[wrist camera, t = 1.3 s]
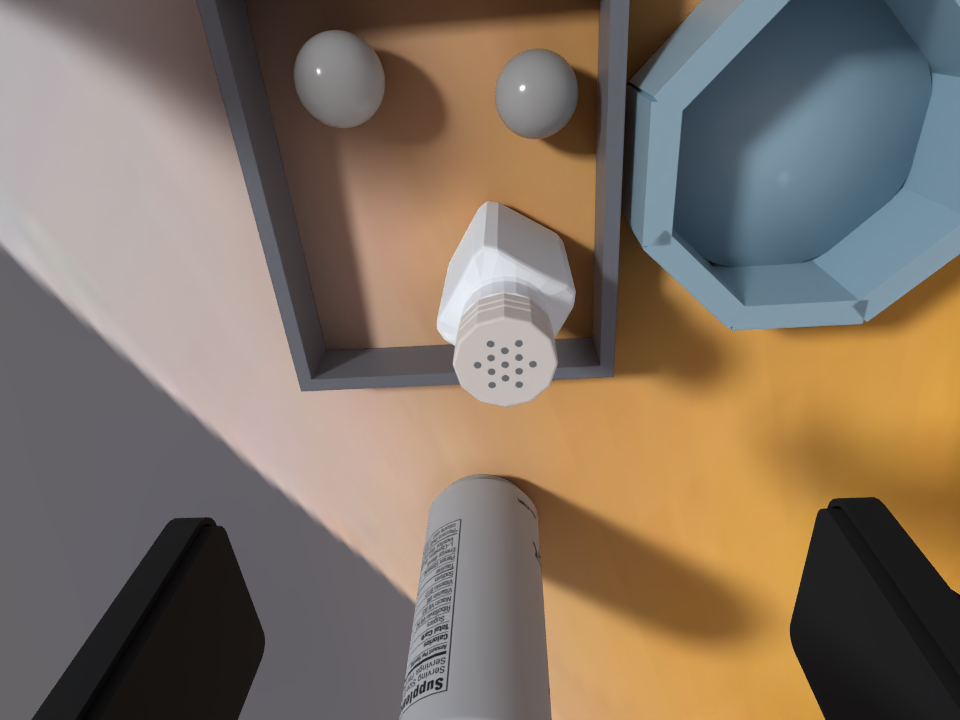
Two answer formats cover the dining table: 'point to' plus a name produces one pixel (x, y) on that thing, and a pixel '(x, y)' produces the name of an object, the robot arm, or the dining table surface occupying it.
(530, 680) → the energy drink can
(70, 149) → the dining table surface
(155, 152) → the dining table surface
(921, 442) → the dining table surface
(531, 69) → the pebble
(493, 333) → the pepper shaker
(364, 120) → the pebble
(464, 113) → the dining table surface
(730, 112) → the bowl
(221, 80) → the parts tray
